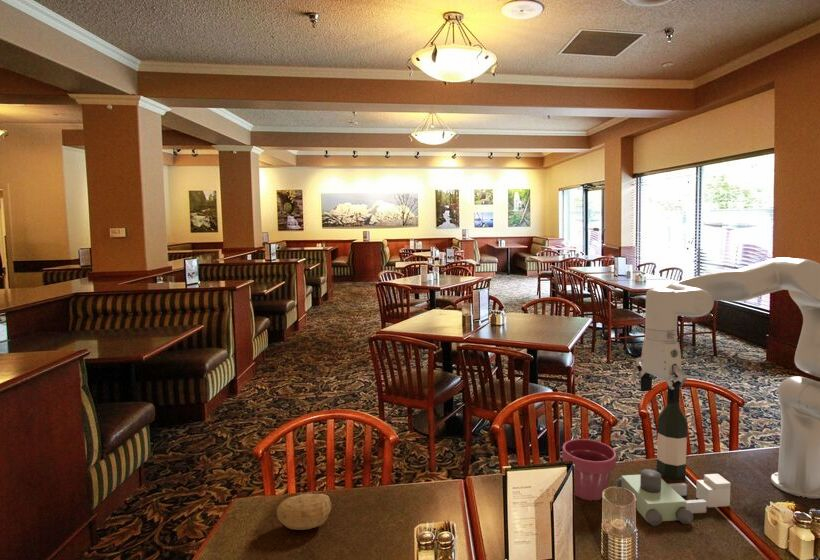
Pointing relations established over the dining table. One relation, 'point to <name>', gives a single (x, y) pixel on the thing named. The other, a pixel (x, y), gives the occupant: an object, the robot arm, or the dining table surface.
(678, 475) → the wine bottle
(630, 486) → the toy car
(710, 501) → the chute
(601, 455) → the plant pot
